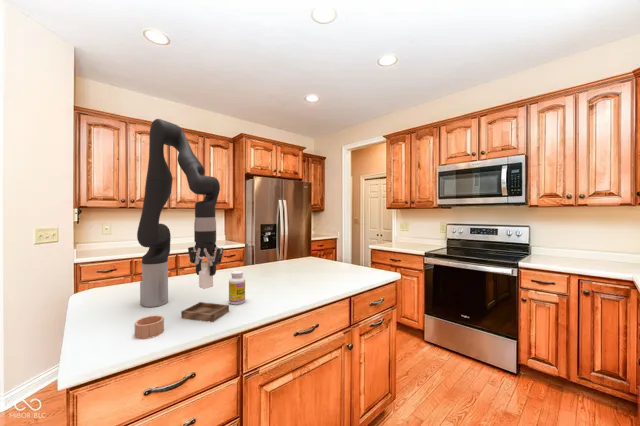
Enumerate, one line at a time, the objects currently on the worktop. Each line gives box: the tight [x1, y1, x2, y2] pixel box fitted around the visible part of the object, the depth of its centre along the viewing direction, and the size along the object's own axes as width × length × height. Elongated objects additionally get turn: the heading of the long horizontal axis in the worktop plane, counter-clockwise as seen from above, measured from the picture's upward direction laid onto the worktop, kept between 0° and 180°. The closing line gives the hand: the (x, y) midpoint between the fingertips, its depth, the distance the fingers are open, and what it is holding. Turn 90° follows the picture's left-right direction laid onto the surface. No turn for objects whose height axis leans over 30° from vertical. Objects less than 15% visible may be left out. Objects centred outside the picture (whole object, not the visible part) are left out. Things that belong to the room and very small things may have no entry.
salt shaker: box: [198, 260, 214, 290], centre depth 101 cm, size 4×4×10 cm
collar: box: [134, 314, 165, 340], centre depth 86 cm, size 8×8×4 cm
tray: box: [180, 301, 230, 323], centre depth 101 cm, size 13×10×2 cm
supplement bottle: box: [228, 270, 246, 305], centre depth 114 cm, size 7×7×13 cm
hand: (205, 274), depth 101 cm, fingers closed on salt shaker, 5 cm apart
